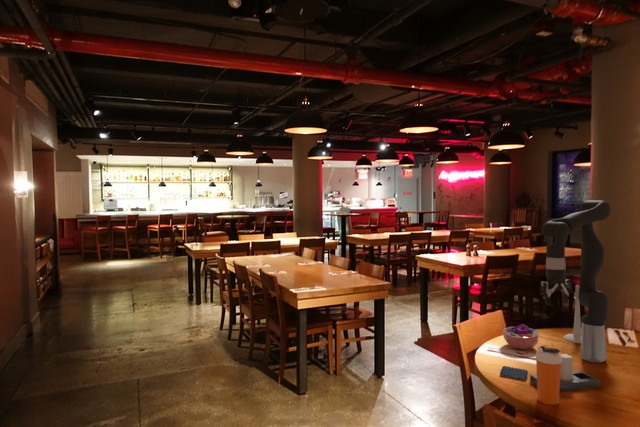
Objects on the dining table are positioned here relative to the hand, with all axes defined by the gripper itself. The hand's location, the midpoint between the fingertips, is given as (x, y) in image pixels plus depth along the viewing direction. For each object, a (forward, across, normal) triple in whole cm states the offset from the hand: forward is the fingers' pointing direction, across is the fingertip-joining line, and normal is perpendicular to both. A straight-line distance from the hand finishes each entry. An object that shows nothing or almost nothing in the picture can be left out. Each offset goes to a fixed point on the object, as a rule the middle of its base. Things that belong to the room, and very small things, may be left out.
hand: (556, 304), depth 189 cm
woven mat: (+30, +21, -1) cm, 37 cm away
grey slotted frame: (+30, +7, +12) cm, 33 cm away
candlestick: (+32, -41, -35) cm, 62 cm away
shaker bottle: (+30, +23, +23) cm, 44 cm away
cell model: (+30, -4, -31) cm, 43 cm away
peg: (+30, +7, +12) cm, 33 cm away
